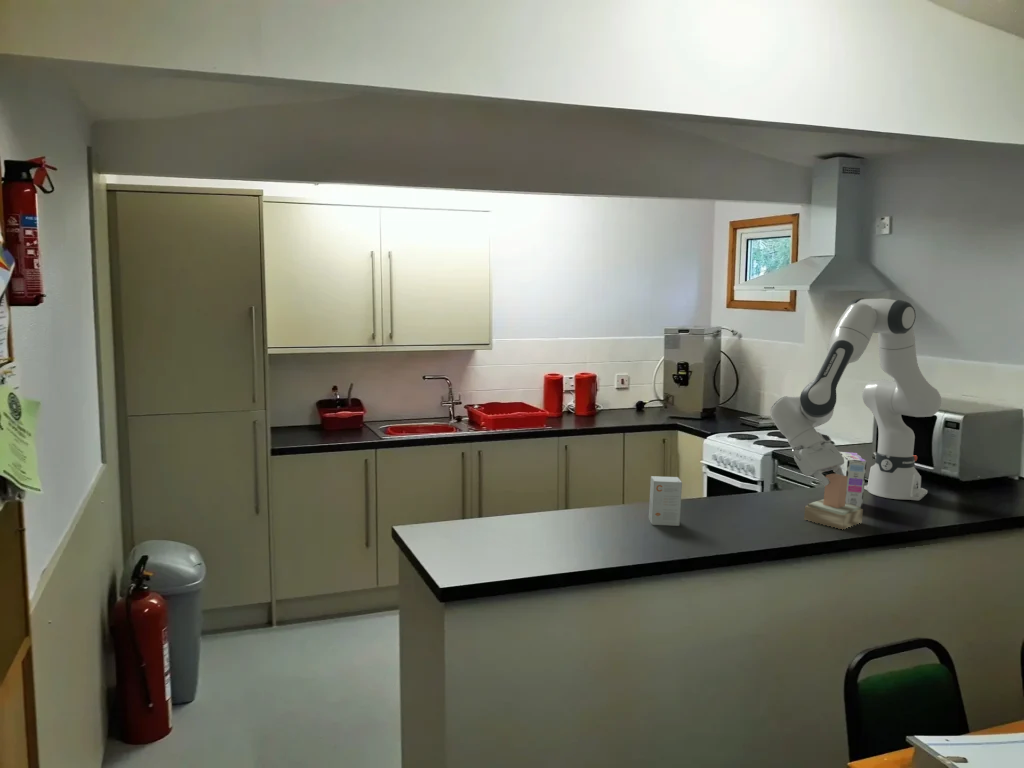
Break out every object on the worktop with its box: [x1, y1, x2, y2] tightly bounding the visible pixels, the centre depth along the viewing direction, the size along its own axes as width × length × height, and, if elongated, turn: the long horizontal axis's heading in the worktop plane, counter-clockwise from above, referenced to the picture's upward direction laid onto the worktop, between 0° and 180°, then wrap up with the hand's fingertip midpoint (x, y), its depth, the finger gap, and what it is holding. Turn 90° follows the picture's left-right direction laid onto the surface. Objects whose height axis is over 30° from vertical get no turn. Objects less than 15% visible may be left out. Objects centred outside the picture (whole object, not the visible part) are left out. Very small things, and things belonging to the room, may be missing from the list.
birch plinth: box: [803, 498, 864, 531], centre depth 242 cm, size 12×12×5 cm
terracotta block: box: [823, 472, 848, 508], centre depth 241 cm, size 4×4×9 cm
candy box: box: [839, 451, 867, 509], centre depth 260 cm, size 14×6×16 cm, turn 168°
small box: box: [648, 475, 683, 527], centre depth 234 cm, size 8×6×13 cm
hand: (835, 482), depth 241 cm, fingers open, 8 cm apart
